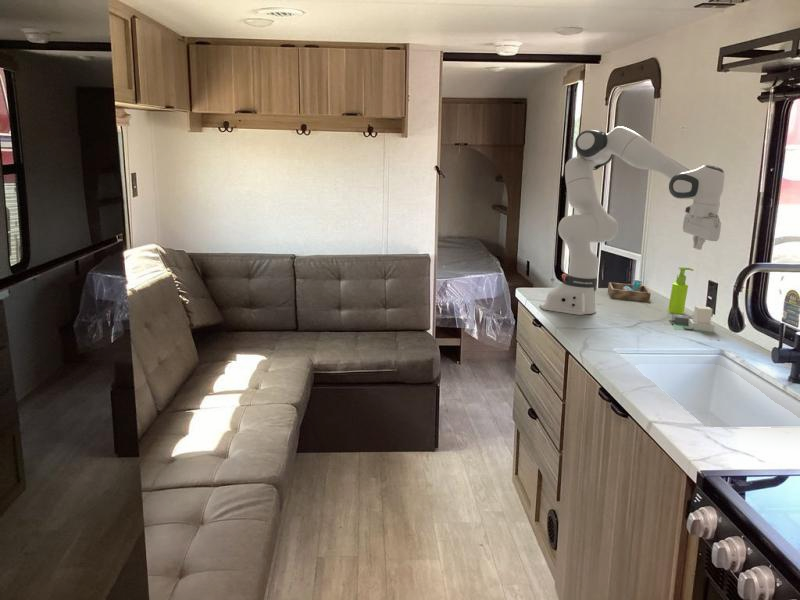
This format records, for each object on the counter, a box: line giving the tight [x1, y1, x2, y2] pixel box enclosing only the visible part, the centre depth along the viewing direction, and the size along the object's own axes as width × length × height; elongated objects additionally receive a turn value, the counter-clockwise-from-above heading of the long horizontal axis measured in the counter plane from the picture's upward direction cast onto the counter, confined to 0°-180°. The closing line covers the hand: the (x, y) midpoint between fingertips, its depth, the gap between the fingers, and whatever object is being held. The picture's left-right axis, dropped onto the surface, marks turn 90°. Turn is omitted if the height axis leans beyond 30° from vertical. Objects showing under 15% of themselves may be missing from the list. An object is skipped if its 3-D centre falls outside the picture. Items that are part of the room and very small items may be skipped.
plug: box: [692, 305, 714, 324], centre depth 241 cm, size 6×4×8 cm
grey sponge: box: [668, 313, 691, 326], centre depth 248 cm, size 7×8×3 cm
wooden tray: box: [607, 282, 651, 303], centre depth 297 cm, size 17×17×4 cm
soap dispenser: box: [667, 266, 694, 315], centre depth 264 cm, size 6×7×20 cm
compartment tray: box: [671, 318, 716, 335], centre depth 244 cm, size 14×15×4 cm
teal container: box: [622, 278, 643, 292], centre depth 298 cm, size 12×12×8 cm
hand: (697, 248), depth 237 cm, fingers closed
